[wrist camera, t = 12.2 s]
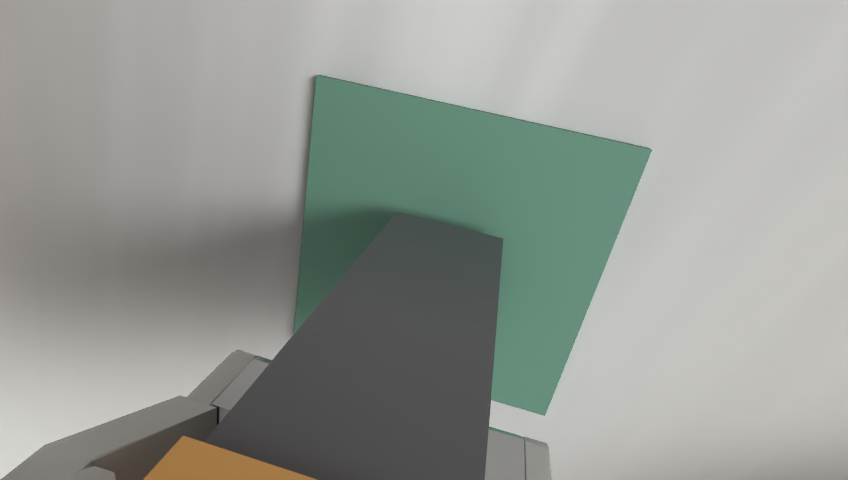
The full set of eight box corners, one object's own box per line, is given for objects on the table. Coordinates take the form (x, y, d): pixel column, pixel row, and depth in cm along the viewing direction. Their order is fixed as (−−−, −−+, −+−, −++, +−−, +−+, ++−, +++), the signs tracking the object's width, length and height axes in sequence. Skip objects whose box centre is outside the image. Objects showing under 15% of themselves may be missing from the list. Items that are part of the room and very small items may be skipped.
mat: (648, 148, 15) (652, 149, 14) (544, 409, 20) (544, 415, 19) (320, 75, 16) (316, 75, 16) (297, 336, 21) (293, 341, 20)
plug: (510, 234, 15) (494, 657, 4) (480, 334, 17) (415, 820, 6) (392, 205, 16) (107, 518, 5) (375, 305, 18) (137, 705, 7)
